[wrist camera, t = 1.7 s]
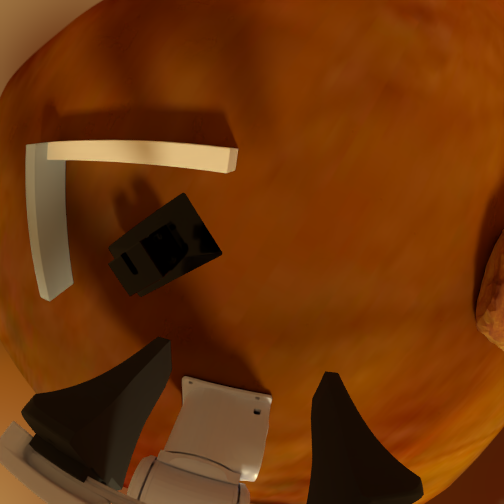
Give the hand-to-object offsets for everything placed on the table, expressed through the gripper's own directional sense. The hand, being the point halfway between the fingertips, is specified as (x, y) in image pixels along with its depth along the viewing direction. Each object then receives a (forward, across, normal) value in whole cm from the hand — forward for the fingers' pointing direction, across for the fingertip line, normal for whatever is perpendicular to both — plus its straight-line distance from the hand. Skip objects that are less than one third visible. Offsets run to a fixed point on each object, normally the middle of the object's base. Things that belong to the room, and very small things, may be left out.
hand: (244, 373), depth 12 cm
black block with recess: (+11, +9, 0) cm, 14 cm away
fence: (+10, +12, -1) cm, 16 cm away
